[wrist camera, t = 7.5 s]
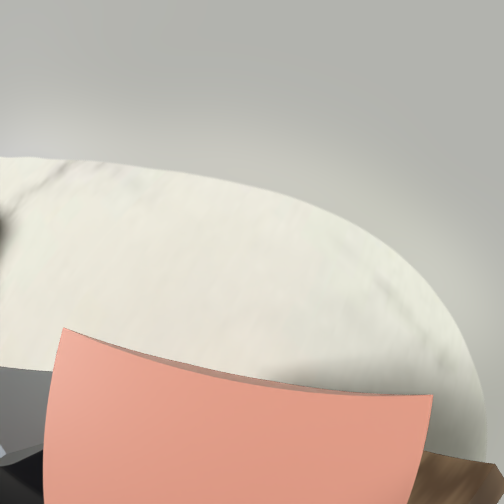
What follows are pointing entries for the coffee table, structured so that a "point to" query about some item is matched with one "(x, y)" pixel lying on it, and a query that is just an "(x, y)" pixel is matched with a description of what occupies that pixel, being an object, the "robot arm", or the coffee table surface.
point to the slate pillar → (22, 412)
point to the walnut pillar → (455, 481)
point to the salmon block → (218, 435)
